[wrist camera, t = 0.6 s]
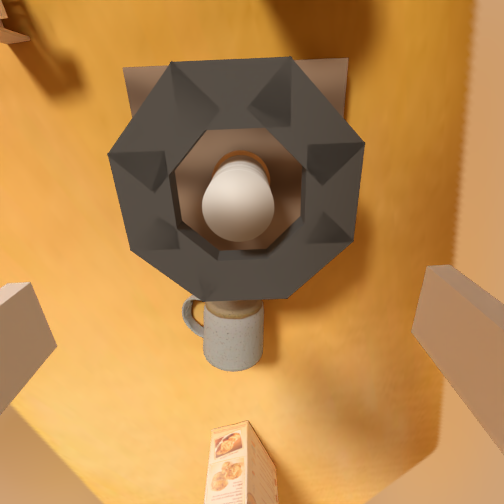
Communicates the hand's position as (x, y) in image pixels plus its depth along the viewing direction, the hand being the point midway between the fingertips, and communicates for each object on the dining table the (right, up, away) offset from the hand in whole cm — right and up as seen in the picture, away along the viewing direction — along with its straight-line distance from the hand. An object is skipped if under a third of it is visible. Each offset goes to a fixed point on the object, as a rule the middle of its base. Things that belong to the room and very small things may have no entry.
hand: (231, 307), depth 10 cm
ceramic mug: (-3, -6, +30) cm, 31 cm away
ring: (0, +7, +14) cm, 15 cm away
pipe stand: (0, +11, +22) cm, 24 cm away
